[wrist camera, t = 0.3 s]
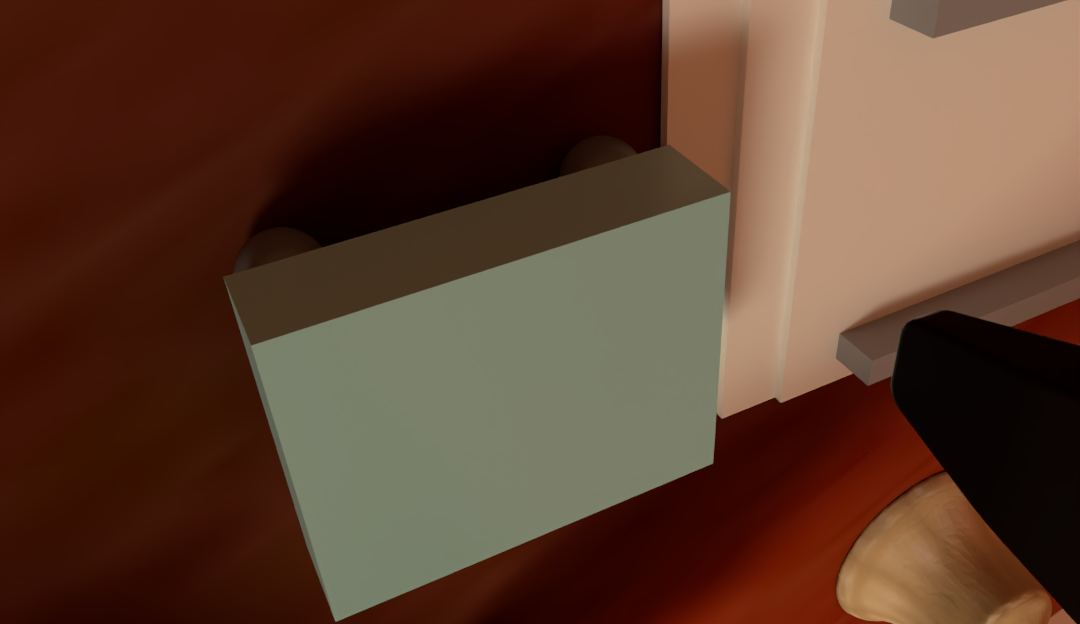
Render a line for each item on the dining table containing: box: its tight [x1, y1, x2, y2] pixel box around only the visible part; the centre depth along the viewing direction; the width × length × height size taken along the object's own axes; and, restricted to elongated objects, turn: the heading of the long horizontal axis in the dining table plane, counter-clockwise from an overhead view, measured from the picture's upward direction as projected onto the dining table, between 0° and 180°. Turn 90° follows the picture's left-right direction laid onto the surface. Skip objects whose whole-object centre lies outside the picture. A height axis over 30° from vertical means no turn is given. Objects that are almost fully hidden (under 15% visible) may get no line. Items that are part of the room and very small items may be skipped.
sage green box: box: [224, 135, 731, 622], centre depth 23 cm, size 8×10×4 cm
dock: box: [660, 0, 1080, 419], centre depth 29 cm, size 14×22×2 cm, turn 93°
